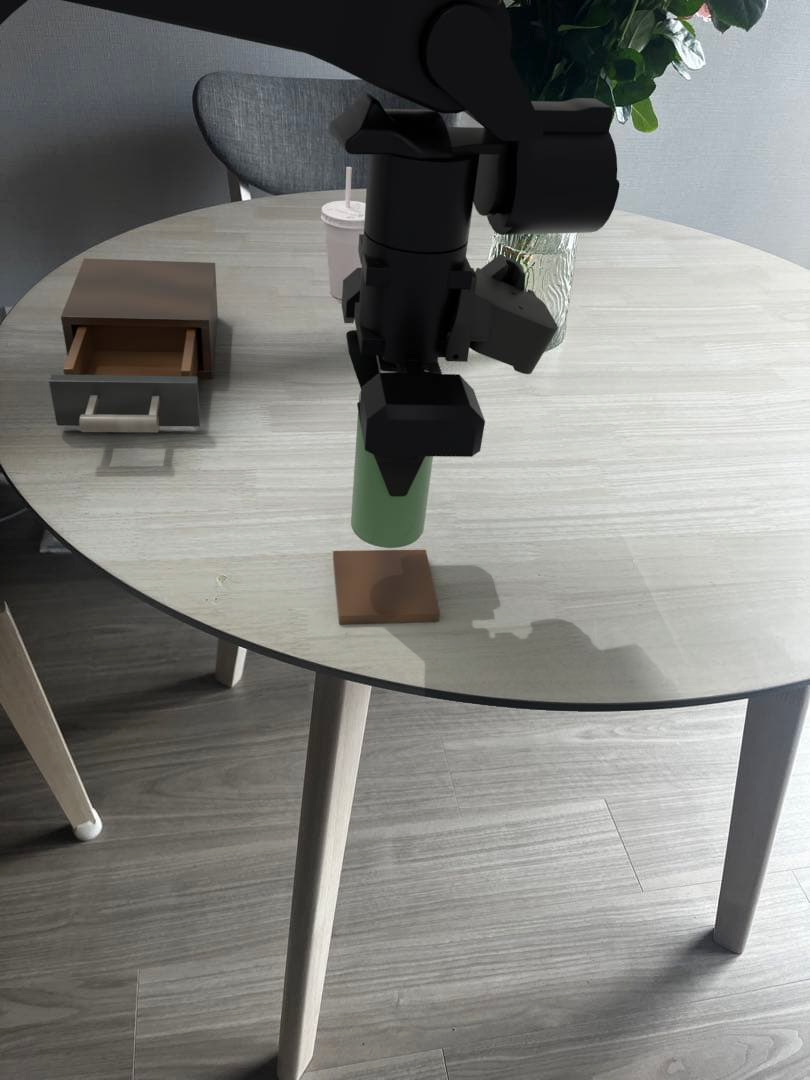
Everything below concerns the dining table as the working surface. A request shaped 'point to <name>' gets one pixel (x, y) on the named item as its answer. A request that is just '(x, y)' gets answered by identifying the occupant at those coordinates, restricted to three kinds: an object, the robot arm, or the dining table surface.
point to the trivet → (384, 587)
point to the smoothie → (343, 237)
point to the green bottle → (386, 502)
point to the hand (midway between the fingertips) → (393, 471)
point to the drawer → (128, 379)
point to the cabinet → (146, 299)
